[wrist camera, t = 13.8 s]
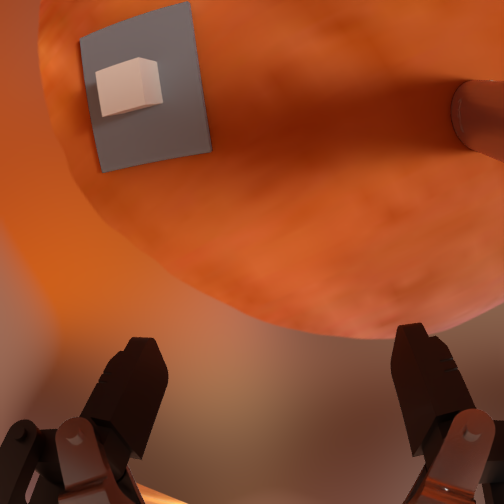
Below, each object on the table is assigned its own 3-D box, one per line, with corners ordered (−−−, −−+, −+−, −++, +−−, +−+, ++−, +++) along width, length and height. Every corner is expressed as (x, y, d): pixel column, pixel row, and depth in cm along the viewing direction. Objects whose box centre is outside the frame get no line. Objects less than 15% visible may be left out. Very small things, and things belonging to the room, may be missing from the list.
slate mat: (190, 3, 26) (187, 1, 25) (212, 150, 34) (210, 152, 33) (83, 39, 28) (79, 38, 27) (106, 171, 36) (102, 173, 35)
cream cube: (156, 61, 29) (138, 57, 24) (163, 103, 31) (145, 104, 27) (117, 73, 30) (95, 72, 25) (123, 113, 32) (102, 116, 27)
